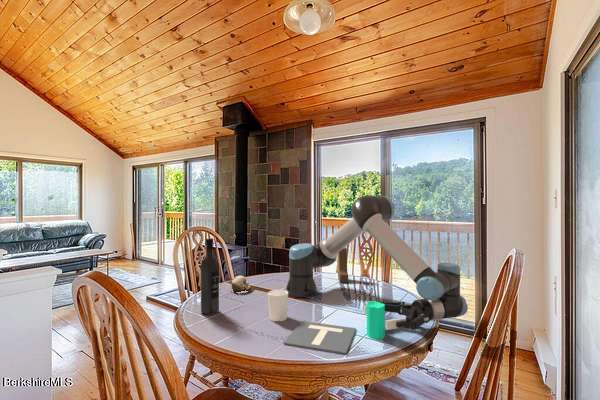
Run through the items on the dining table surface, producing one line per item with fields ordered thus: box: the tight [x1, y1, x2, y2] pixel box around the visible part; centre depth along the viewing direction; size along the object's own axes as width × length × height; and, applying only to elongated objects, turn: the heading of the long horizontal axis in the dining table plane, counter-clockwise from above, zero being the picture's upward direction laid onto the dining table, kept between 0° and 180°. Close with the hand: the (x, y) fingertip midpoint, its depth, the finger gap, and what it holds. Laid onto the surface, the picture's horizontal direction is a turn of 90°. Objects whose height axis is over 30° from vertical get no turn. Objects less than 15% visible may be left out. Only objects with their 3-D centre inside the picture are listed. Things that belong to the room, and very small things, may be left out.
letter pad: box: [283, 320, 357, 355], centre depth 103 cm, size 20×18×1 cm
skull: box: [231, 275, 254, 293], centre depth 155 cm, size 12×10×10 cm
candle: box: [366, 299, 386, 340], centre depth 103 cm, size 6×6×12 cm
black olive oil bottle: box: [200, 238, 220, 315], centre depth 125 cm, size 6×6×30 cm
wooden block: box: [337, 246, 349, 284], centre depth 172 cm, size 9×4×18 cm, turn 179°
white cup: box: [267, 289, 289, 323], centre depth 119 cm, size 8×8×10 cm
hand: (374, 317), depth 103 cm, fingers open, 13 cm apart
